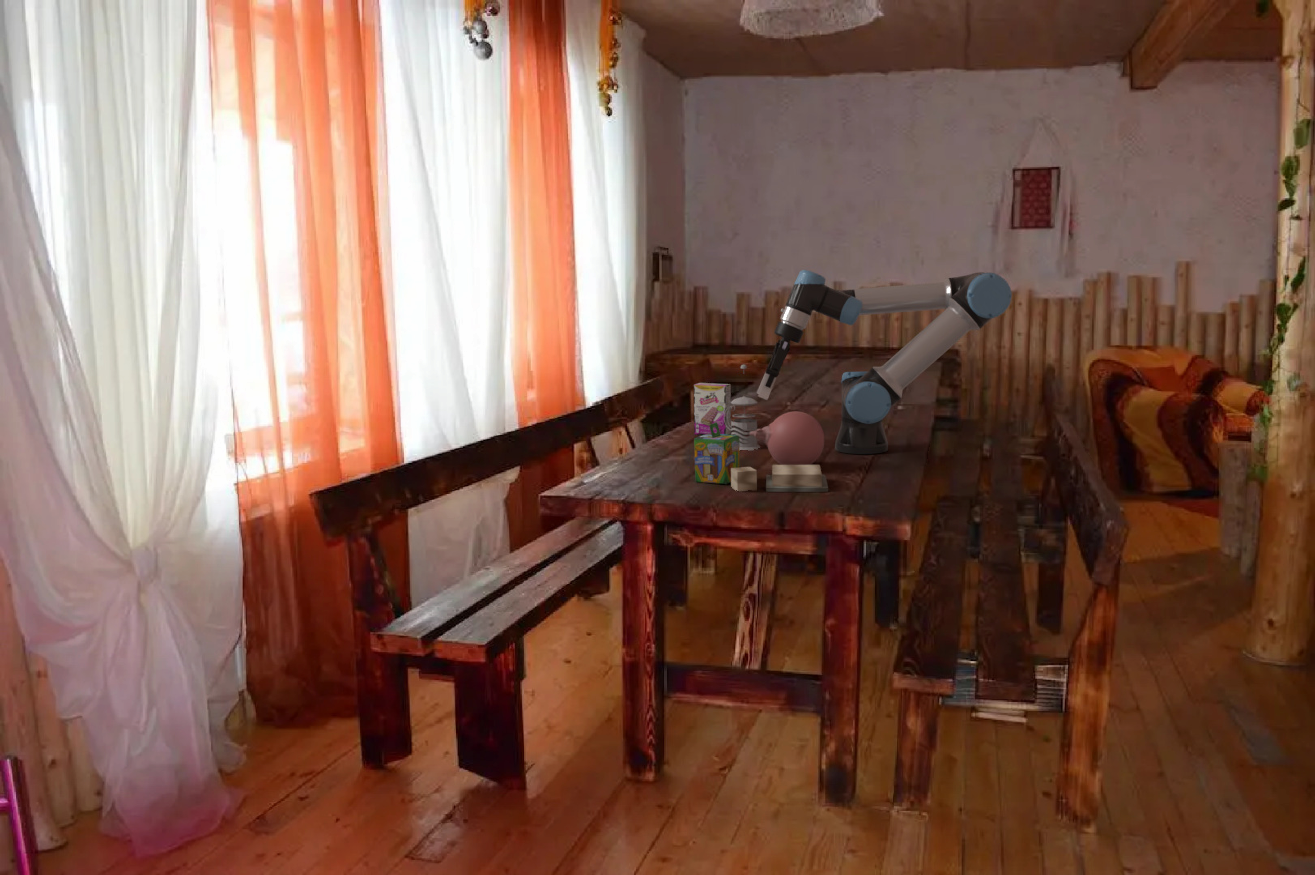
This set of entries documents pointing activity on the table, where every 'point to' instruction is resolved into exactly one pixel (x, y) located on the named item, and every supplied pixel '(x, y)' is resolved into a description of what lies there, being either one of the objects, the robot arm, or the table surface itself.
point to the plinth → (796, 479)
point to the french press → (744, 423)
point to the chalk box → (715, 456)
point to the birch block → (744, 479)
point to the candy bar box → (711, 407)
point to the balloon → (793, 438)
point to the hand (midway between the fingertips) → (761, 396)
